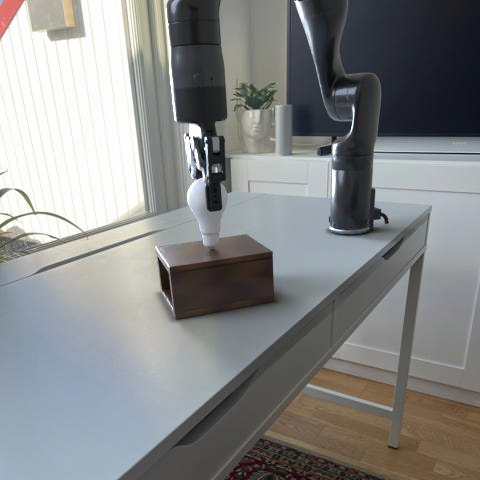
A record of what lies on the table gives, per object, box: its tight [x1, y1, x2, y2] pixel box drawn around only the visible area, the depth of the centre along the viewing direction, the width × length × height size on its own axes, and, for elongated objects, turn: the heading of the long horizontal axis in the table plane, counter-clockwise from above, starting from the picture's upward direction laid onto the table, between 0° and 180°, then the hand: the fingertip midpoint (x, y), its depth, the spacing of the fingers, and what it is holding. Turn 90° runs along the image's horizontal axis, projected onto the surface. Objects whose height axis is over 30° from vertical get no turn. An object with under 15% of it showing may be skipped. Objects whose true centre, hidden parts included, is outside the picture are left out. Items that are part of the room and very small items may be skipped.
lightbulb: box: [186, 178, 229, 249], centre depth 73 cm, size 6×6×11 cm
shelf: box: [155, 233, 275, 320], centre depth 77 cm, size 16×12×8 cm
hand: (208, 206), depth 73 cm, fingers closed on lightbulb, 6 cm apart
